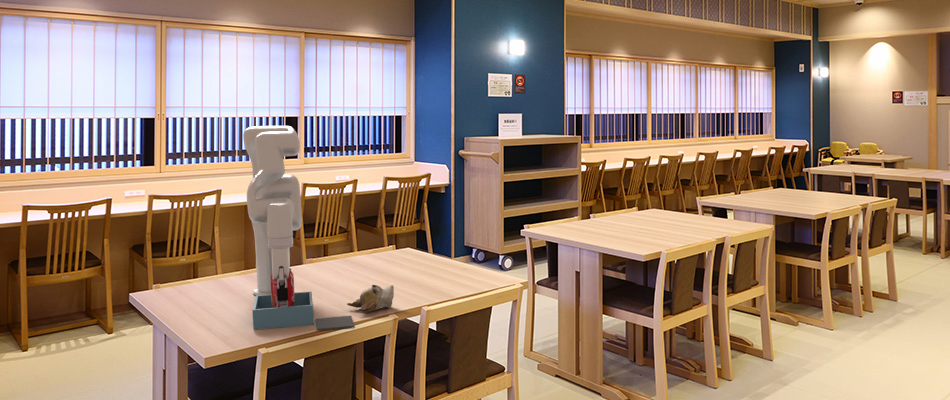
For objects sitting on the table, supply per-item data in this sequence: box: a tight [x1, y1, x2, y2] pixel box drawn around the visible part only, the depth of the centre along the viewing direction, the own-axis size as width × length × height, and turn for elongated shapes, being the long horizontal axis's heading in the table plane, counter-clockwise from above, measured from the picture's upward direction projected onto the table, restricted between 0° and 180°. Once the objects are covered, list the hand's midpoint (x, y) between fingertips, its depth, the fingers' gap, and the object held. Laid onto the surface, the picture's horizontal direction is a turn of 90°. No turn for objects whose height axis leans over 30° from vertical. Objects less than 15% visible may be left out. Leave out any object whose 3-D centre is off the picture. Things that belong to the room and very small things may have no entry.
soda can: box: [271, 267, 295, 308], centre depth 216 cm, size 7×7×12 cm
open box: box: [251, 291, 315, 330], centre depth 216 cm, size 18×18×6 cm
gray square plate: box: [315, 315, 355, 331], centre depth 210 cm, size 11×11×1 cm
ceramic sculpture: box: [346, 284, 395, 313], centre depth 225 cm, size 11×9×15 cm
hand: (282, 296), depth 216 cm, fingers closed on soda can, 7 cm apart
